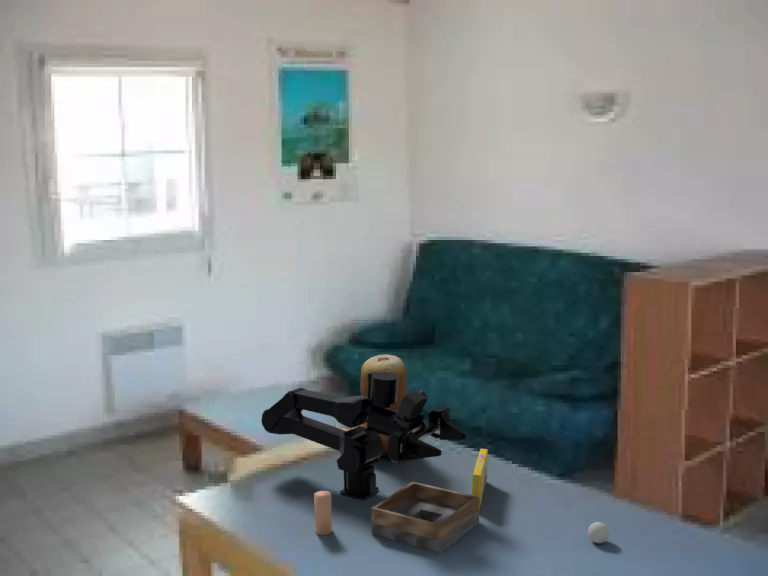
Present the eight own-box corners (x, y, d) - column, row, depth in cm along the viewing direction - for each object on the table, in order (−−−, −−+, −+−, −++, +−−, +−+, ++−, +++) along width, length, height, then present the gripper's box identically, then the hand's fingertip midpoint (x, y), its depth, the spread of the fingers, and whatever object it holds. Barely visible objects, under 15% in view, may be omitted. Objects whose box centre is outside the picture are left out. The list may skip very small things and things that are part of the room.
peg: (311, 532, 184) (310, 495, 183) (322, 526, 187) (320, 489, 186) (325, 536, 182) (324, 498, 181) (335, 530, 185) (334, 493, 184)
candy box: (481, 512, 193) (481, 475, 191) (471, 511, 193) (471, 474, 192) (488, 482, 208) (488, 448, 207) (478, 482, 209) (478, 447, 207)
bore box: (371, 533, 183) (371, 508, 182) (412, 505, 196) (412, 481, 195) (440, 553, 175) (440, 526, 174) (479, 522, 188) (479, 497, 187)
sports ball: (604, 548, 175) (605, 529, 175) (584, 543, 177) (585, 524, 177) (611, 540, 179) (612, 521, 178) (591, 536, 181) (592, 517, 180)
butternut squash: (352, 462, 222) (350, 363, 217) (363, 443, 235) (360, 349, 230) (409, 465, 219) (407, 364, 215) (416, 445, 232) (415, 350, 228)
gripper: (365, 403, 185) (428, 424, 176) (419, 375, 199) (480, 394, 190) (365, 452, 189) (426, 476, 179) (418, 422, 203) (477, 442, 194)
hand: (453, 445), depth 186 cm, fingers open, 9 cm apart
